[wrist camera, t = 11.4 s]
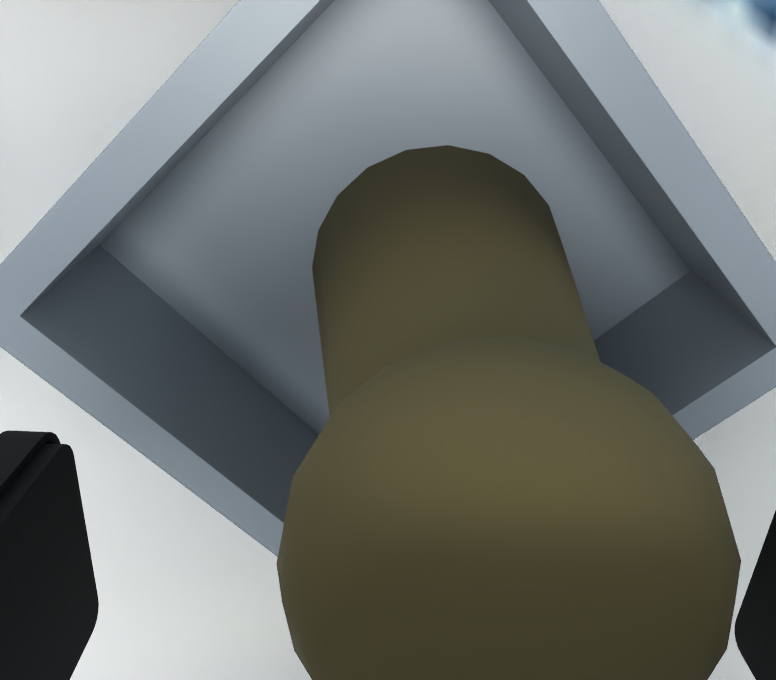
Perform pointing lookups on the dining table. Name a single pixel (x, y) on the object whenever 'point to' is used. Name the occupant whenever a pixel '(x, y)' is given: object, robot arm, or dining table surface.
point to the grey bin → (314, 199)
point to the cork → (488, 457)
